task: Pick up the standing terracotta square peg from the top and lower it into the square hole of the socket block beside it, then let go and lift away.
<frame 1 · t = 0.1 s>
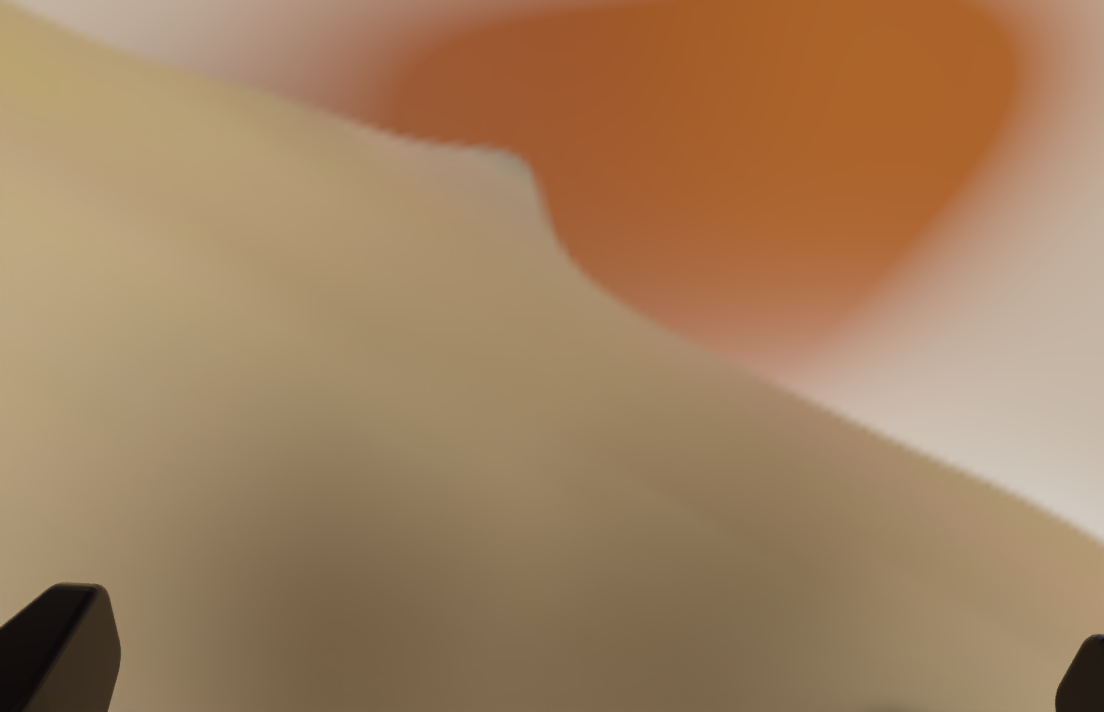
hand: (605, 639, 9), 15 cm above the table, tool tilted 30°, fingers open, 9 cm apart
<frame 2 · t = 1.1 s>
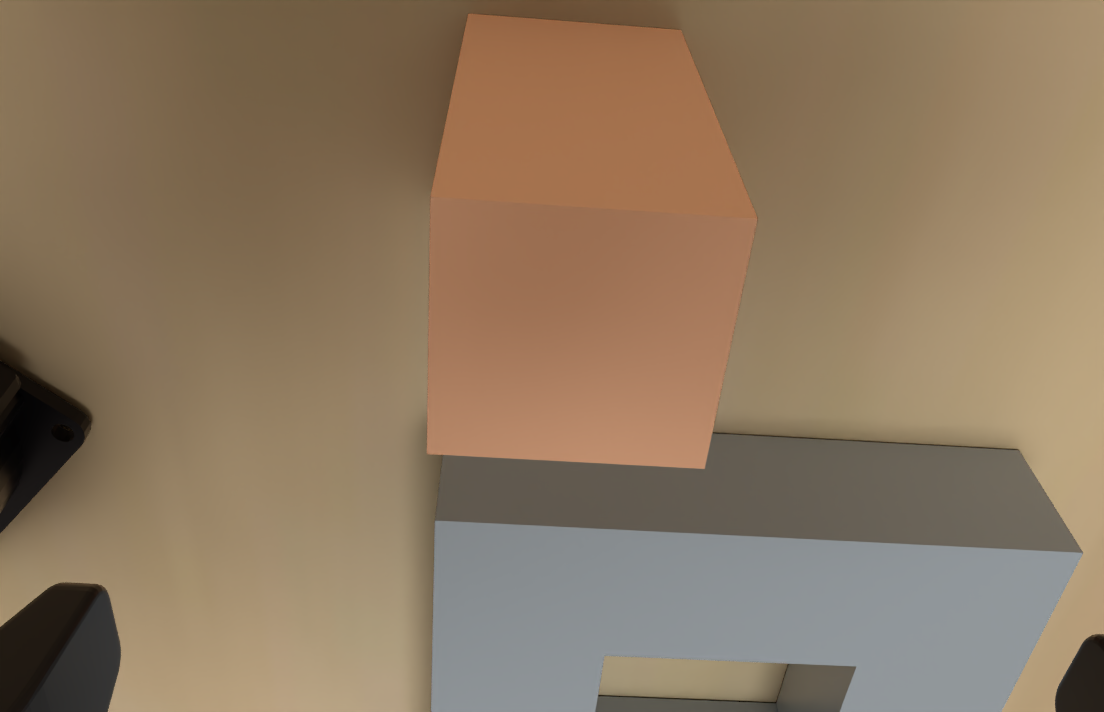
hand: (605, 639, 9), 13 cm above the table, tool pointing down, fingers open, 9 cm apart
socket block: (692, 630, 28), on the table
peg: (565, 123, 20), on the table
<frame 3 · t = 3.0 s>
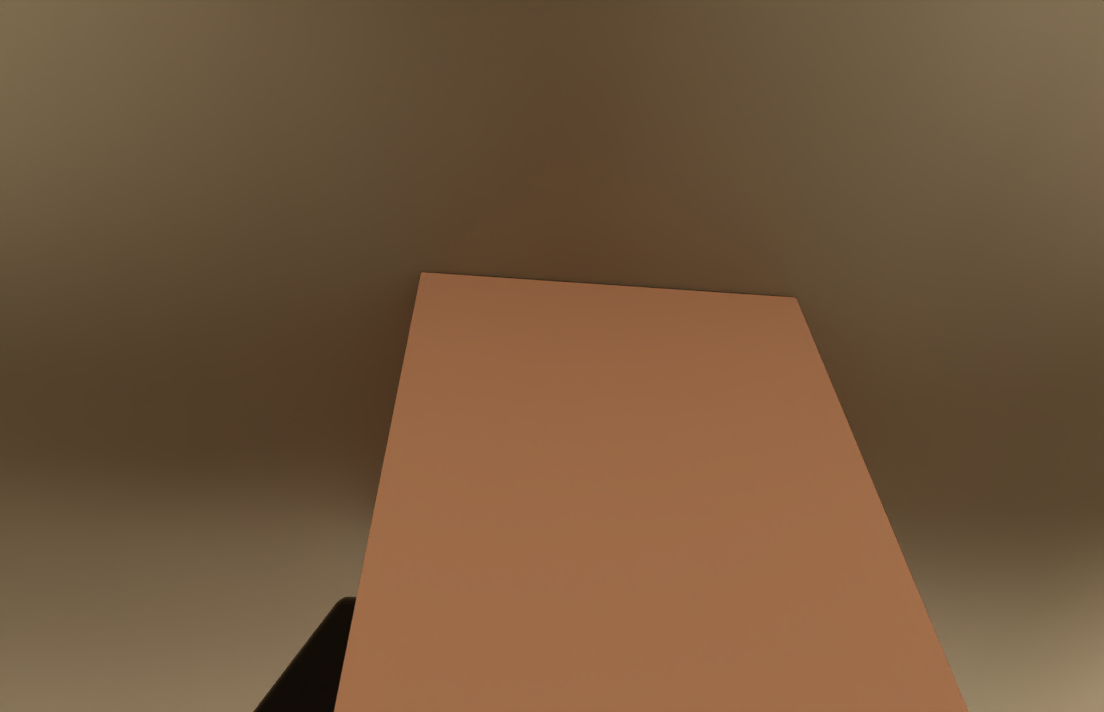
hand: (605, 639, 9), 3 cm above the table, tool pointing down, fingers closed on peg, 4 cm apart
peg: (590, 433, 12), on the table, touching gripper
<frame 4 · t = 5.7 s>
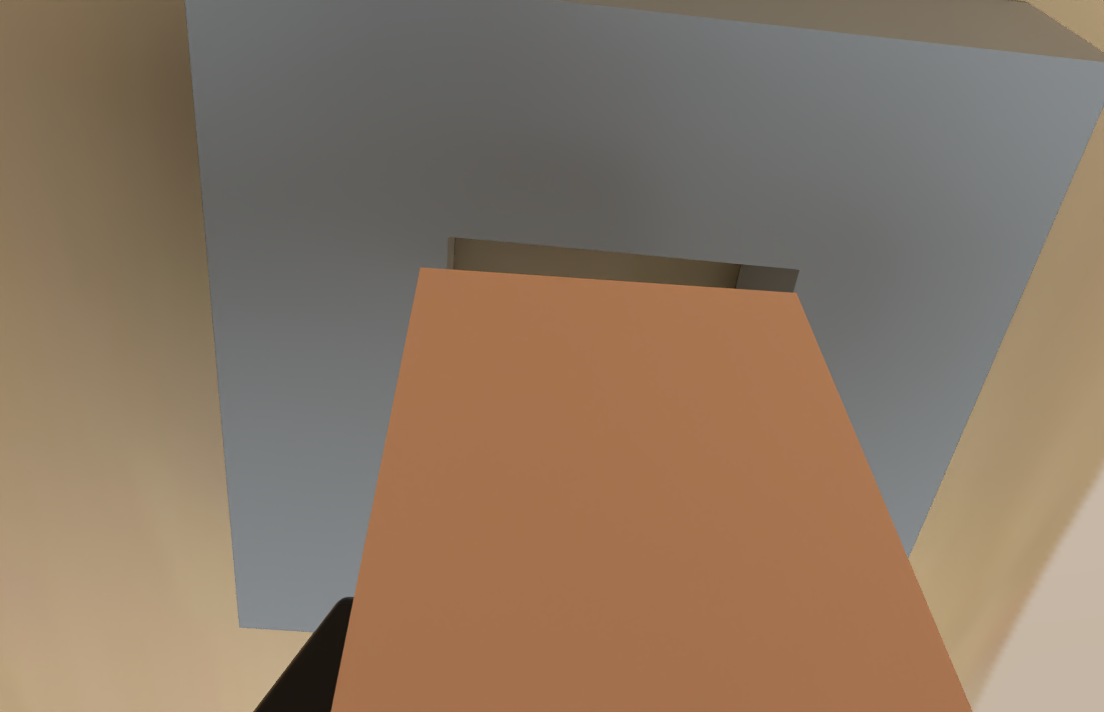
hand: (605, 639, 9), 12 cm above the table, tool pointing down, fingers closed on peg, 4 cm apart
socket block: (592, 299, 22), on the table
peg: (590, 429, 12), point 9 cm above the table, touching gripper
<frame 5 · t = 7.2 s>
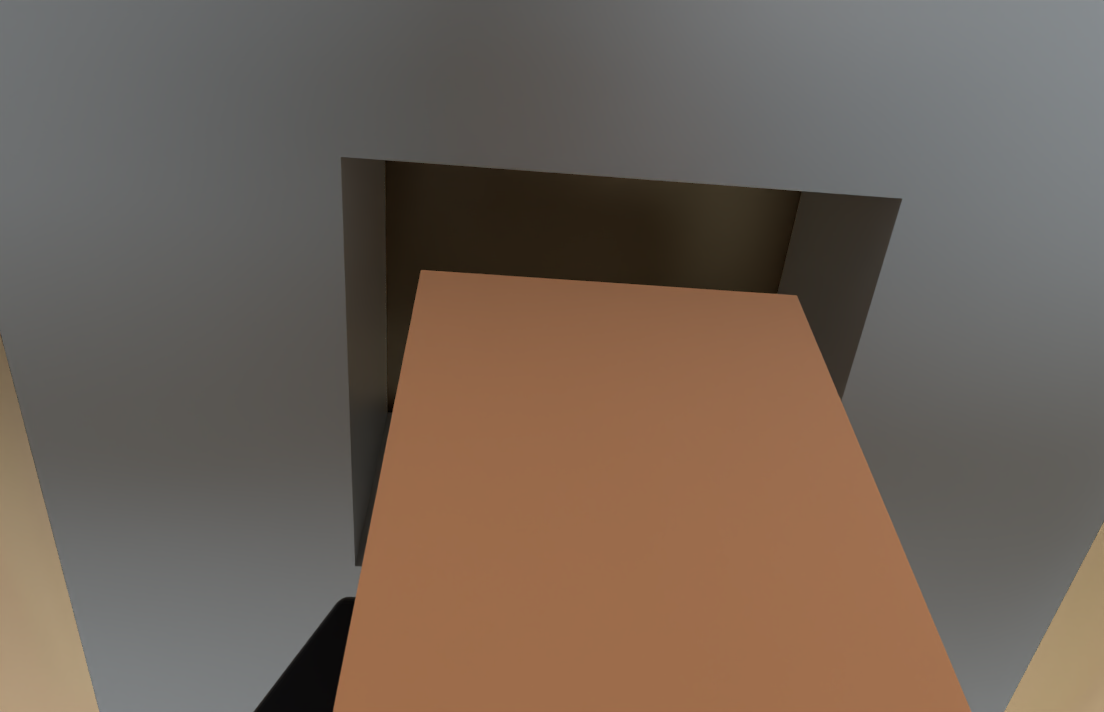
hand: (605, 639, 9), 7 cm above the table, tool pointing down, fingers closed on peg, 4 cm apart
socket block: (585, 266, 15), on the table
peg: (591, 431, 12), point 4 cm above the table, touching gripper
when the fingers open (4 cm above the table, at t = 8.6 s): peg drops 1 cm, resting in socket block.
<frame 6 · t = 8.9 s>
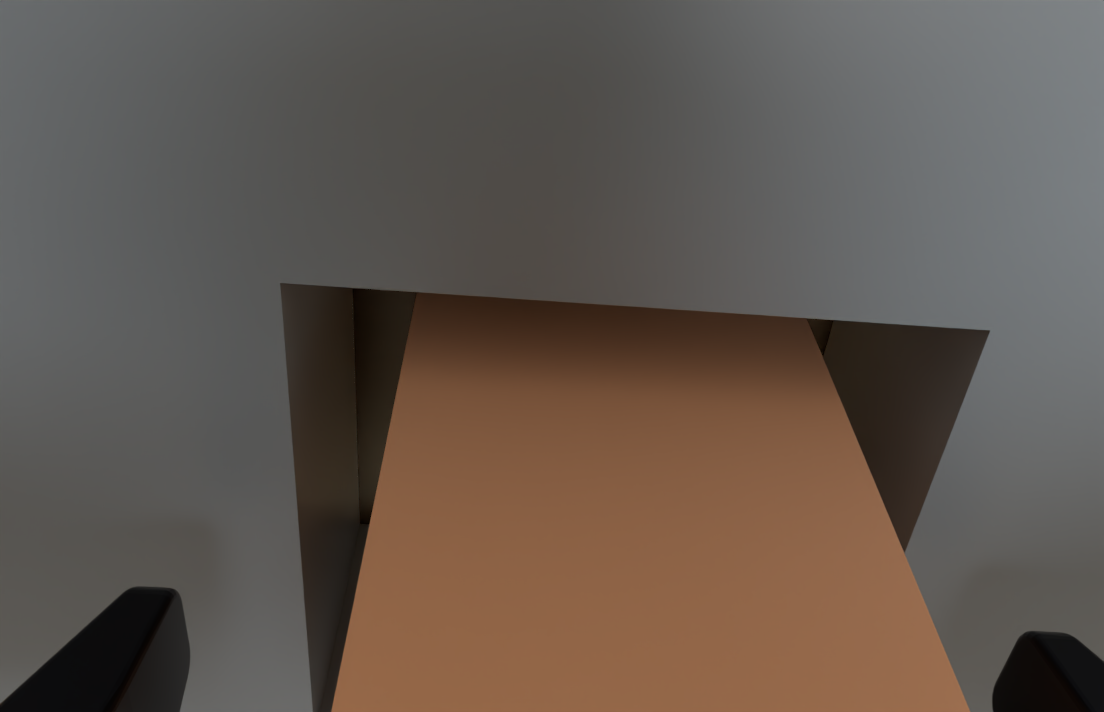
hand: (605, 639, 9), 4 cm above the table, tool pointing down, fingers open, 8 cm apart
socket block: (588, 365, 13), on the table
peg: (587, 360, 13), resting in socket block
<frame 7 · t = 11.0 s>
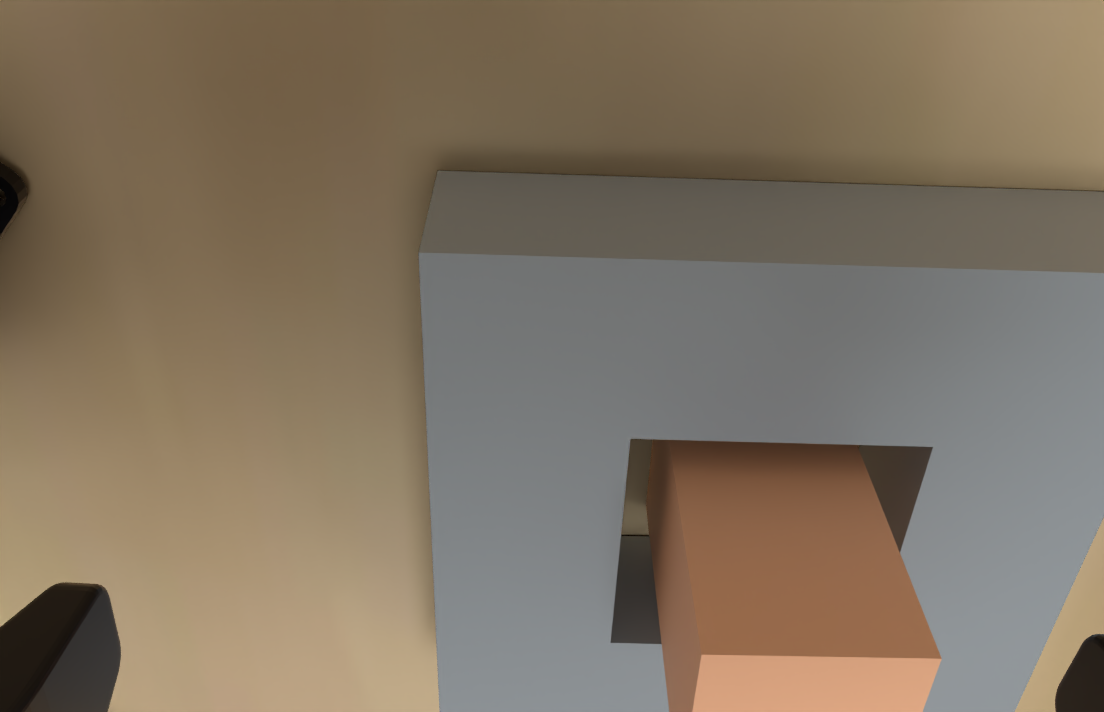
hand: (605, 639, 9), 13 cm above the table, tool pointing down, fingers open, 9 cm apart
socket block: (735, 448, 24), on the table
peg: (734, 445, 24), resting in socket block
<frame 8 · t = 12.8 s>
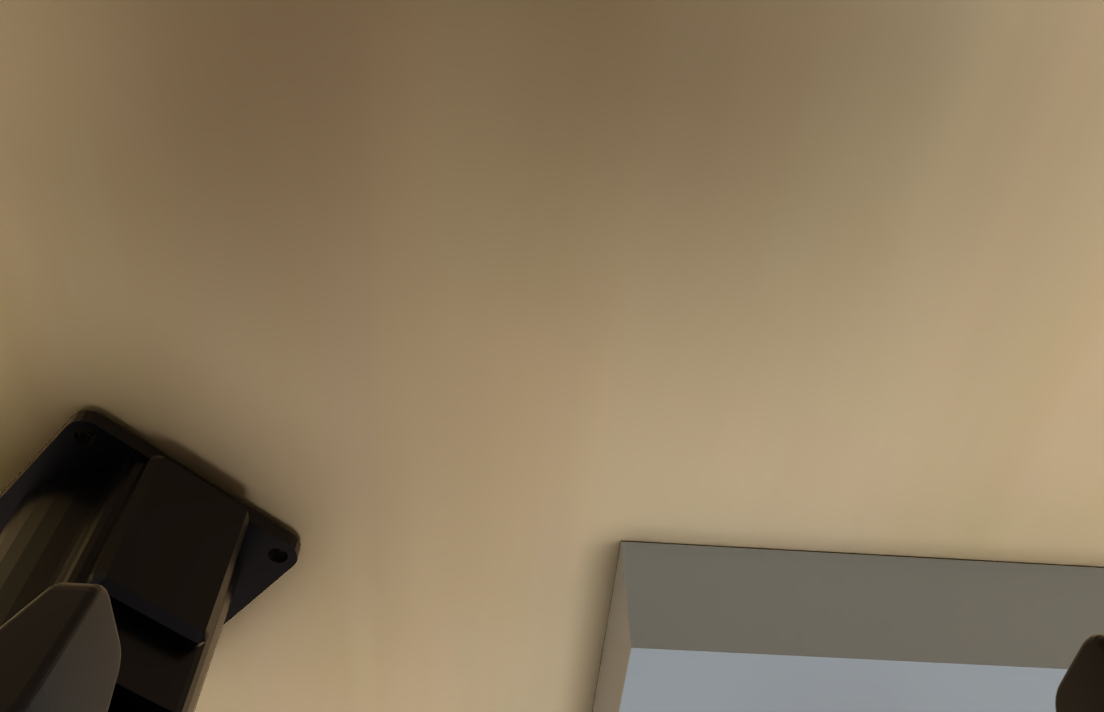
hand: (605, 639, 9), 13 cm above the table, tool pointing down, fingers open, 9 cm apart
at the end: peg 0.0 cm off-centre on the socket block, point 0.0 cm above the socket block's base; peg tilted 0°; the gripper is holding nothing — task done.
